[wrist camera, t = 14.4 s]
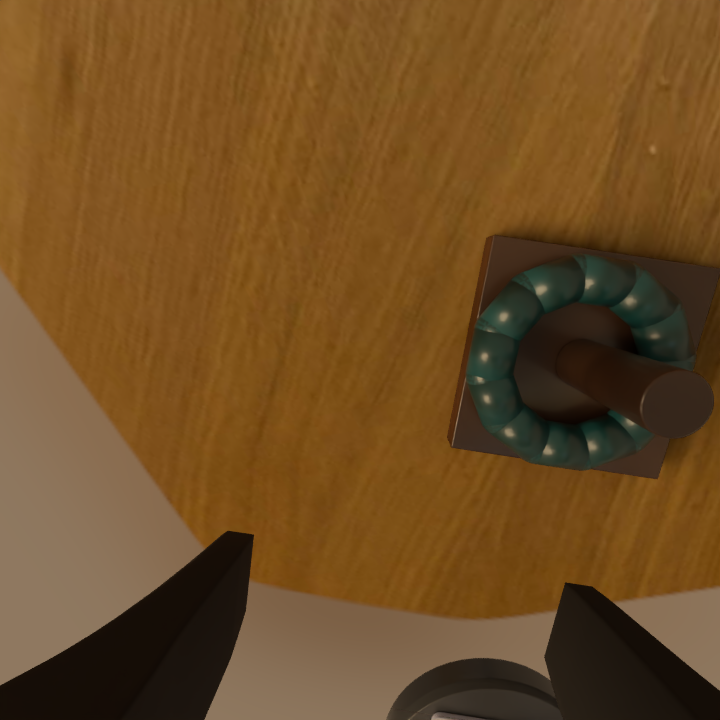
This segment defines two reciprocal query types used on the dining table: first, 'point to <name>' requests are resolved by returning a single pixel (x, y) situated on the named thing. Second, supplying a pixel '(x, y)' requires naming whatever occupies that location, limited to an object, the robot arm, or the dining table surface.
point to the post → (591, 359)
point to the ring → (520, 314)
